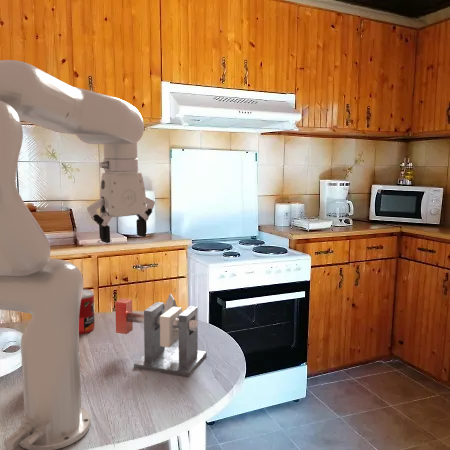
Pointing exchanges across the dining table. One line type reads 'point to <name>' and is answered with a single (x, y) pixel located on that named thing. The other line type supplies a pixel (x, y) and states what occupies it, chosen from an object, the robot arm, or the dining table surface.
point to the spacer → (169, 327)
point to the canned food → (86, 312)
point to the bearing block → (174, 356)
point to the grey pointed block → (170, 303)
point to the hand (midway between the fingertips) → (124, 238)
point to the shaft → (138, 318)
